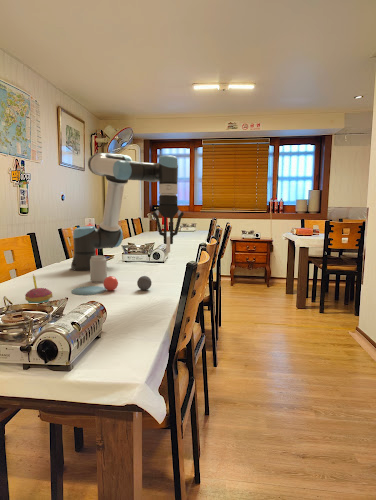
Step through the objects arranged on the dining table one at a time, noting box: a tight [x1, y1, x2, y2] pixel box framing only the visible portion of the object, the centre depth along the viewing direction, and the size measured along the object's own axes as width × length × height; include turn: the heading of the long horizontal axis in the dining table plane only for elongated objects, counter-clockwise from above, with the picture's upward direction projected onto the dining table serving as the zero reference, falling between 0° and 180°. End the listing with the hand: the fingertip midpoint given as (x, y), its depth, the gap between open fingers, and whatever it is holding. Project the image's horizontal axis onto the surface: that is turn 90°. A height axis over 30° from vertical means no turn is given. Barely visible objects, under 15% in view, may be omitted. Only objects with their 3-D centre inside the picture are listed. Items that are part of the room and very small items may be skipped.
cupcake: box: [24, 273, 53, 304], centre depth 114 cm, size 9×8×12 cm
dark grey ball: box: [136, 275, 152, 291], centre depth 140 cm, size 6×6×6 cm
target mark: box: [71, 285, 107, 296], centre depth 138 cm, size 14×14×1 cm
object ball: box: [102, 275, 119, 292], centre depth 139 cm, size 6×6×6 cm
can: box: [89, 254, 108, 284], centre depth 154 cm, size 8×8×12 cm
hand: (168, 251), depth 139 cm, fingers closed
